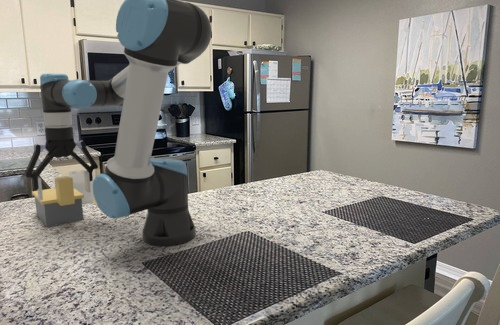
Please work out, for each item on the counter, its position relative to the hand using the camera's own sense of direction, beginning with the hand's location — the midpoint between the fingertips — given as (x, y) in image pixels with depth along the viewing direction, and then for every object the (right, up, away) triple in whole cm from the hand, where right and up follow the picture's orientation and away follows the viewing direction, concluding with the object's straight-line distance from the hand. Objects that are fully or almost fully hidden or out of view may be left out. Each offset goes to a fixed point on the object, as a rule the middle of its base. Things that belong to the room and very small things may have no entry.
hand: (65, 195), depth 117 cm
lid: (-5, -1, +7) cm, 9 cm away
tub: (-7, -9, +10) cm, 15 cm away
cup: (-7, -6, +29) cm, 31 cm away
